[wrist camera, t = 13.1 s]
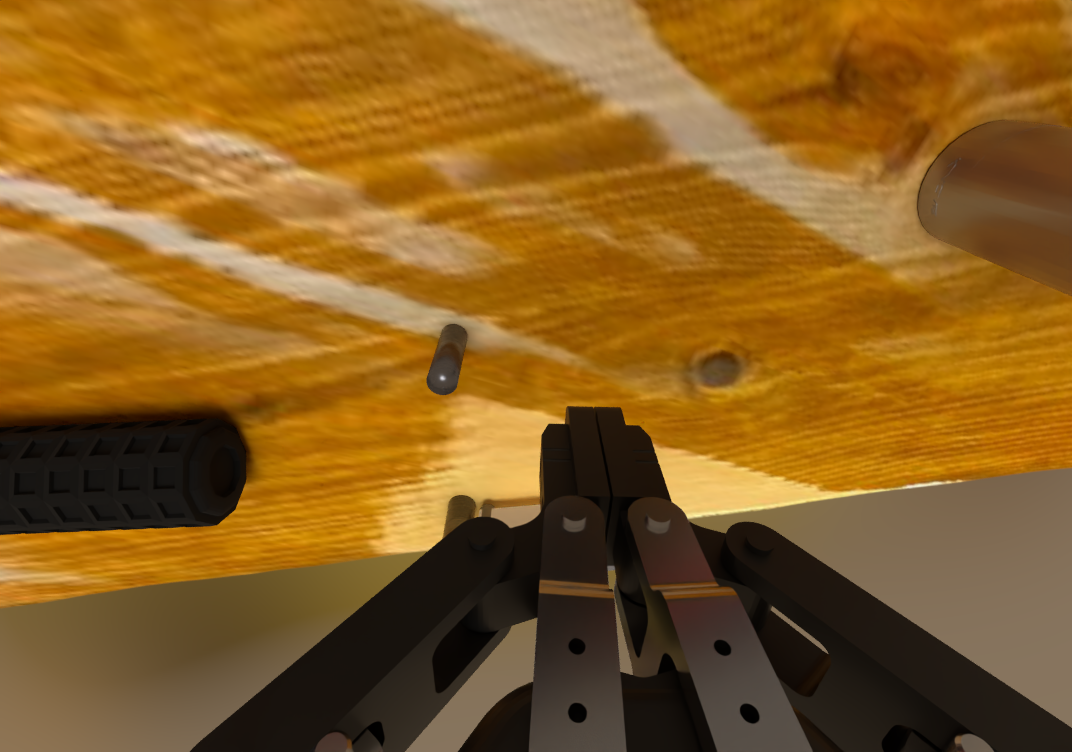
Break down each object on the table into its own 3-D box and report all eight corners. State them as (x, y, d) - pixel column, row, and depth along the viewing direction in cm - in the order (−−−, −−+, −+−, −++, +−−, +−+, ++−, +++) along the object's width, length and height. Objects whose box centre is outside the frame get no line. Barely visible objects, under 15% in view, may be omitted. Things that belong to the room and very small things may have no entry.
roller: (-94, 509, 56) (-227, 563, 46) (-124, 421, 53) (-271, 459, 44) (261, 495, 55) (202, 546, 46) (245, 406, 53) (180, 440, 43)
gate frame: (470, 324, 47) (456, 390, 38) (475, 515, 59) (466, 600, 50) (436, 323, 47) (414, 389, 38) (449, 514, 59) (434, 600, 50)
